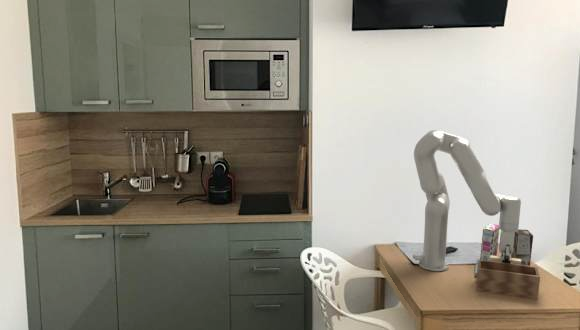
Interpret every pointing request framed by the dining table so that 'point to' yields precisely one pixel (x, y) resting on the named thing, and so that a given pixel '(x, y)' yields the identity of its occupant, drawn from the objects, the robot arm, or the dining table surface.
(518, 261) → the lid
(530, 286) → the open wooden box
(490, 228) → the candy bar box
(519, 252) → the coffee box
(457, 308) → the dining table surface
